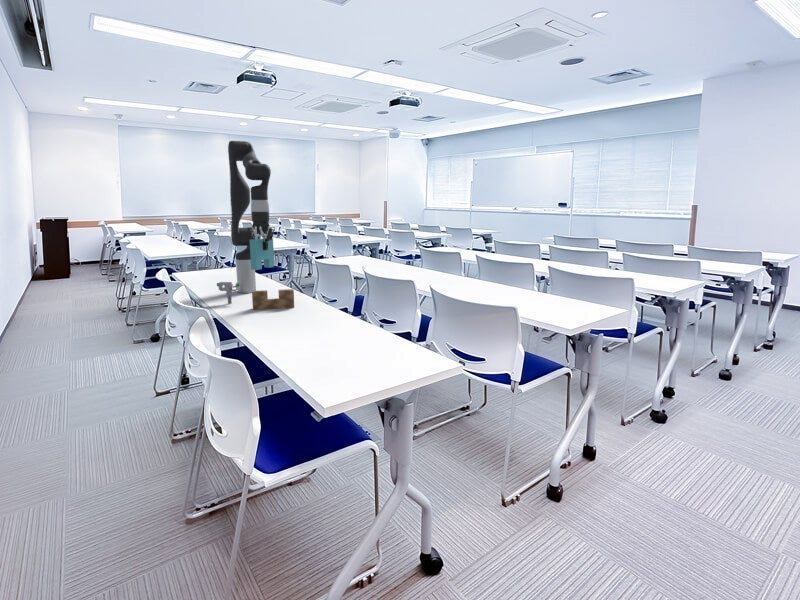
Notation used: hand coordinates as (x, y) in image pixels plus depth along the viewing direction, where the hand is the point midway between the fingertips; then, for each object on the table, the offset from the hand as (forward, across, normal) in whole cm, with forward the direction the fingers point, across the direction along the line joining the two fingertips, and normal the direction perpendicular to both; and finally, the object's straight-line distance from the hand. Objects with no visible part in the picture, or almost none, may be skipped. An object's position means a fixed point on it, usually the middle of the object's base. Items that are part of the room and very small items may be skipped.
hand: (262, 249), depth 212 cm
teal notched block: (+8, 0, 0) cm, 8 cm away
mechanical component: (+26, -19, -2) cm, 32 cm away
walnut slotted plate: (+26, +5, 0) cm, 26 cm away
